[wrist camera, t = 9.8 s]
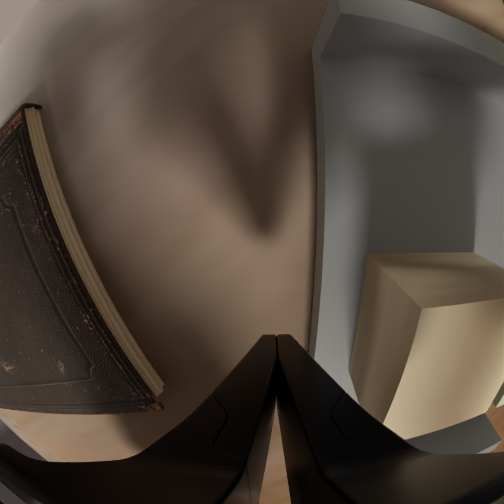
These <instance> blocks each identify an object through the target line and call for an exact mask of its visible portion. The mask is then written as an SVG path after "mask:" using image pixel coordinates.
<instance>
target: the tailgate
mask: <svg viewBox="0 0 504 504" xmlns="http://www.w3.org/2000/svg"><path fill="white" fill-rule="evenodd" d="M492 402H493V404H494V405H495V407H499V406H501V405H504V382H503V384H502V385H501V387H500V389H499V391H498V393H497V394H496V396H495V398H494V400H493V401H492Z"/></svg>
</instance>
